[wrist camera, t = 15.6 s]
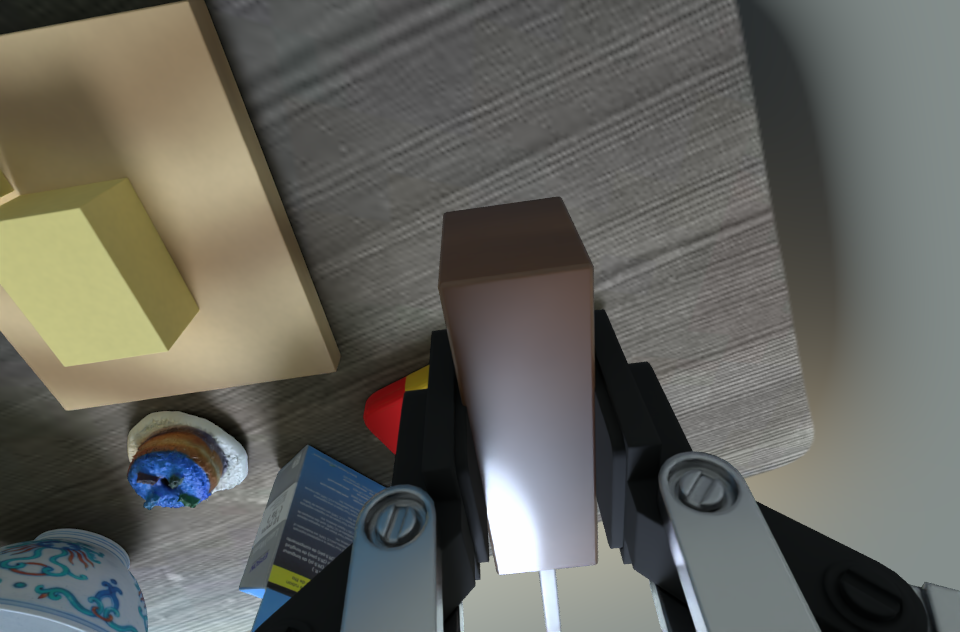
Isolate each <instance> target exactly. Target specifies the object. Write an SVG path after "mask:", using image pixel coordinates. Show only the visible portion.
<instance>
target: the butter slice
mask: <svg viewBox="0 0 960 632" xmlns="http://www.w3.org/2000/svg"><path fill="white" fill-rule="evenodd" d="M13 191H14V189H13V188H12V187H11V185H10V184H9V182H8V181H7V179H6V178H5V176H4V175H3V173H2V172H1V170H0V198H1V197H3V196H5V195H7V194H9V193H11V192H13Z"/></svg>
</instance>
